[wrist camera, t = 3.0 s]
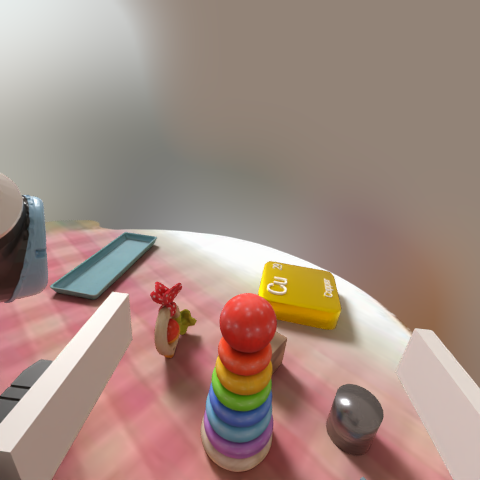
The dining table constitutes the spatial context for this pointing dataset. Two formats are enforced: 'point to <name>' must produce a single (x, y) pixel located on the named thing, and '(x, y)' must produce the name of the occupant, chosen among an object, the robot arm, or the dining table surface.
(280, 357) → the walnut cube
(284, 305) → the element tile
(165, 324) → the bird rattle
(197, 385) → the dining table surface
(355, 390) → the graphite cylinder
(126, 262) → the rectangular tray
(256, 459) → the stacking toy
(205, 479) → the dining table surface
